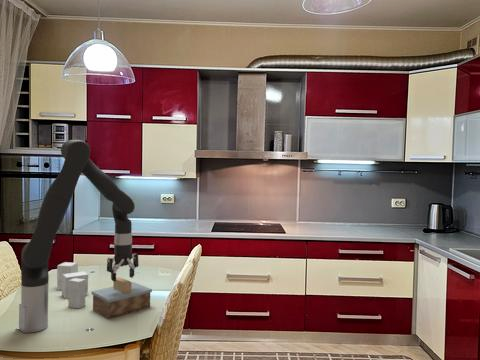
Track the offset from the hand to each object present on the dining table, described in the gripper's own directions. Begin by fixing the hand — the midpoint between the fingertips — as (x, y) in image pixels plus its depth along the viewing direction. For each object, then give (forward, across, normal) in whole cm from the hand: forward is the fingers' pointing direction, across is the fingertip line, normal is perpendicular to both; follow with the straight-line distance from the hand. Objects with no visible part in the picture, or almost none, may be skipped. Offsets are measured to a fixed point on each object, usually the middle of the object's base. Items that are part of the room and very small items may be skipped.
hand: (122, 279), depth 172 cm
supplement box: (+13, -6, +44) cm, 46 cm away
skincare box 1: (+13, -7, +31) cm, 35 cm away
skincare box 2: (+13, -13, +16) cm, 25 cm away
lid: (+6, 0, 0) cm, 6 cm away
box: (+13, 0, 0) cm, 13 cm away
